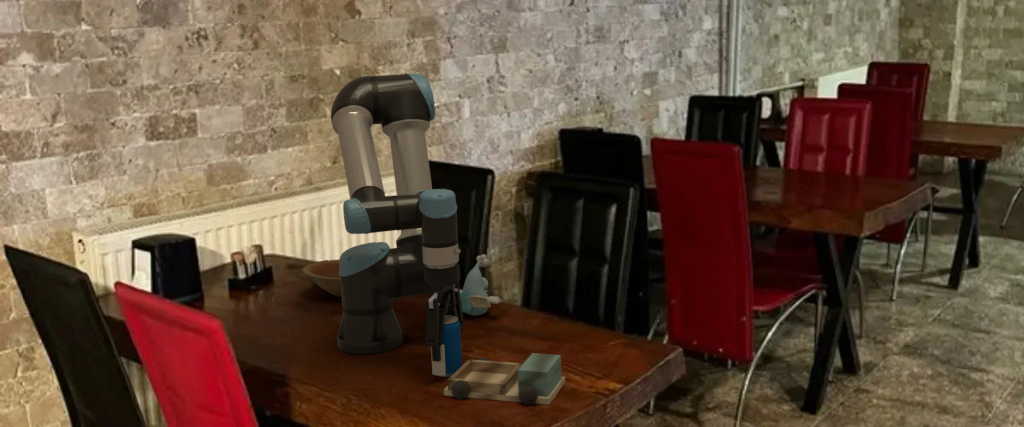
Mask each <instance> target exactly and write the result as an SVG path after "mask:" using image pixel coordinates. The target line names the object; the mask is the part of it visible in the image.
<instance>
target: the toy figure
mask: <svg viewBox="0 0 1024 427" xmlns="http://www.w3.org/2000/svg"><path fill="white" fill-rule="evenodd" d="M475 260H476V264H475V265H474V267H473V268H472V269H471V270H470V271H469V272H468V273H467V275H466V278H465V281H464V283H463V288H462V289H460V298H461V305H462V313H465V314H467V315H469V316H475V317H476V316H478V317H479V316H481V315H483V314H485V313H486V312H487V311H488V310H489V308H491V304H492V305H498V304H500V303H501V302H502V300H501V299H500V297H499V296H492V295H491V296H489V295H488V293H487V292H488V288H489V281H488V280H487V278H486V277H483V275H482V272H481V270H480V268H487V267H489V266H490V259H488V256H487V255H486V254H483V253H482V254H480V255H477V256H476V259H475Z"/></svg>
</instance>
